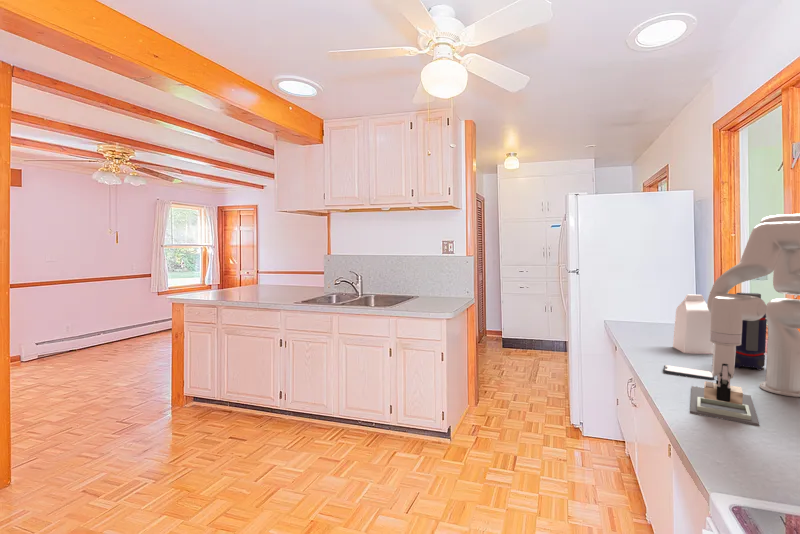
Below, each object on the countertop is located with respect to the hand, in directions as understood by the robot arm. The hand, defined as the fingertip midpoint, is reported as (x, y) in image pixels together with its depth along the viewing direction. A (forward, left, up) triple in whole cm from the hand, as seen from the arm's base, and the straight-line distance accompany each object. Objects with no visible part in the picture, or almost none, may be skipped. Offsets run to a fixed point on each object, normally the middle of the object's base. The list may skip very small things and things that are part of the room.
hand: (722, 396), depth 129 cm
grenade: (-58, -22, -5) cm, 62 cm away
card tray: (0, 0, -5) cm, 5 cm away
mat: (-6, -3, -5) cm, 8 cm away
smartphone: (-28, -27, -5) cm, 39 cm away
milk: (-65, -47, -5) cm, 80 cm away
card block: (0, 0, -1) cm, 1 cm away
